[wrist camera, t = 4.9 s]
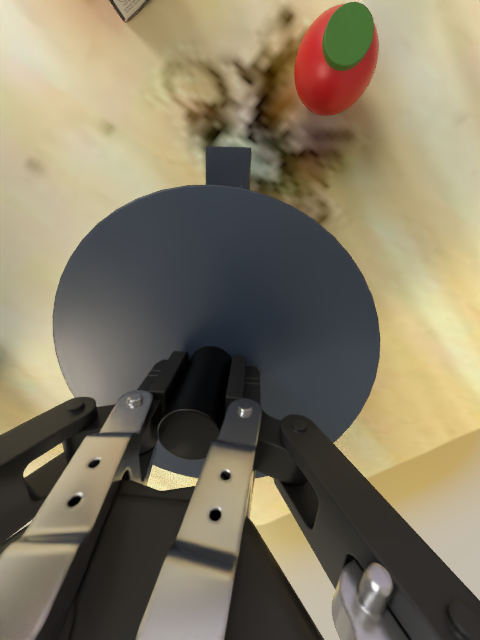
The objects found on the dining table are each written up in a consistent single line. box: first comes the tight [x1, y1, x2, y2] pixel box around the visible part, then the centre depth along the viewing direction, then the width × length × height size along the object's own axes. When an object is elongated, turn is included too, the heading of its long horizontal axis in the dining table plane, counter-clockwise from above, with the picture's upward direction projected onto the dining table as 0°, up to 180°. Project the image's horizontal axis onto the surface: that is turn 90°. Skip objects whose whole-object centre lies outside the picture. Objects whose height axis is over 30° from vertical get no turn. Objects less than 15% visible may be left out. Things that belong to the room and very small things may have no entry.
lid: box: [53, 185, 380, 478], centre depth 12 cm, size 18×18×6 cm
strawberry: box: [294, 2, 379, 116], centre depth 16 cm, size 5×5×6 cm
